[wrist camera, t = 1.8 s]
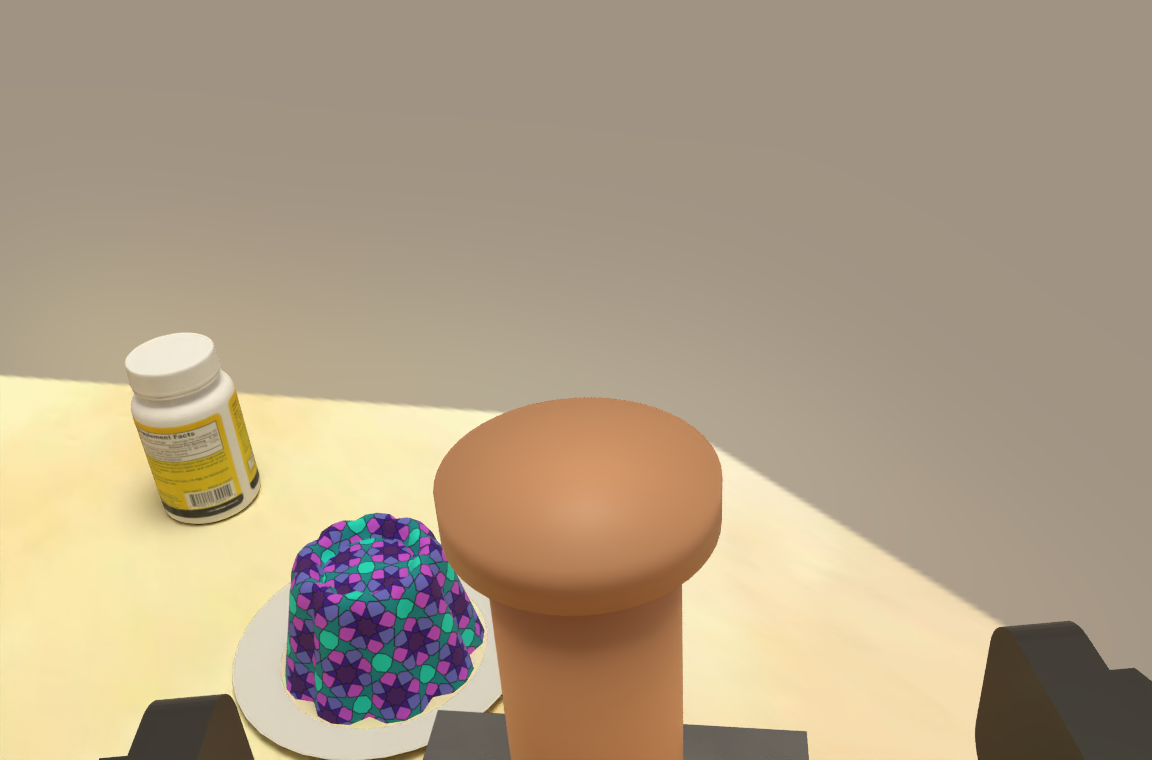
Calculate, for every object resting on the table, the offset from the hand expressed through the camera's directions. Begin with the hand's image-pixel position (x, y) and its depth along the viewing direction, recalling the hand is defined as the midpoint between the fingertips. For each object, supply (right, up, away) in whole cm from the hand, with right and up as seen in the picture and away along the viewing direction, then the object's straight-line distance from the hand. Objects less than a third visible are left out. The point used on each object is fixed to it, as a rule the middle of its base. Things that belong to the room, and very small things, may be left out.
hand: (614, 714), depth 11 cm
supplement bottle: (-19, -2, +41) cm, 45 cm away
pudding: (-8, -8, +32) cm, 34 cm away
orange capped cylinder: (+1, -13, +21) cm, 25 cm away
